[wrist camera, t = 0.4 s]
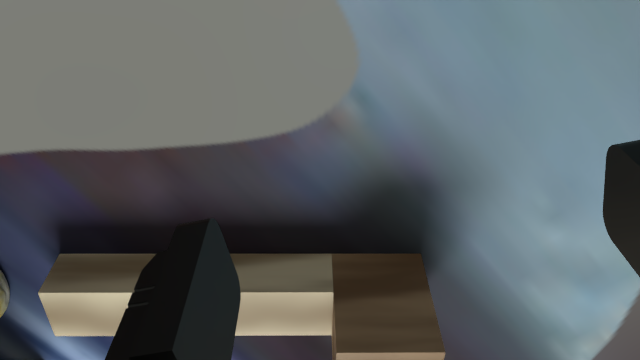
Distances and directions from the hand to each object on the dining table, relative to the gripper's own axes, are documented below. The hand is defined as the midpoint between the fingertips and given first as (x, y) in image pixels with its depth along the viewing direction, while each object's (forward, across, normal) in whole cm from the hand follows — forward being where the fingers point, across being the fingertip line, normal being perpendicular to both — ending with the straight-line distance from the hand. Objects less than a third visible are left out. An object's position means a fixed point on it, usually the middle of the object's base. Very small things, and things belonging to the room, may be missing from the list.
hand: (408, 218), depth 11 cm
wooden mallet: (+19, +11, +17) cm, 28 cm away
